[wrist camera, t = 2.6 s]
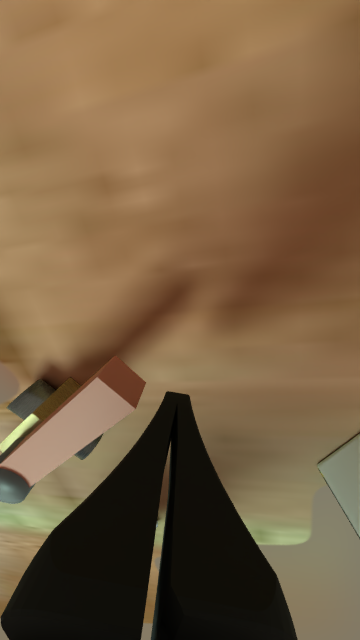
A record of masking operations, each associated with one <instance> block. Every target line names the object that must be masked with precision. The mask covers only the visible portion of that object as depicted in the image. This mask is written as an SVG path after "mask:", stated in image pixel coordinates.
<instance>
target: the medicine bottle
mask: <svg viewBox="0 0 360 640" xmlns="http://www.w3.org/2000/svg"><path fill="white" fill-rule="evenodd" d="M318 469H319V471H320V473H321V474H322V476H323V478H324V479H325V481H326V483H327V484H328V486H329V488H330V489H331V491H332V493H333V495H334V496H335V498H336V500H337V501H338V503H339V505H340V506H341V508H342V510H343V511H344V513H345V515H346V516H347V518H348V520H349V522H350V523H351V525H352V526H353V528H354V530H355V532H356V533H357V535H358V537H359V538H360V434H358V435H357V436H356V437H354V438H353V439H352V440H350V441H349V442H347V443H346V444H345V445H343V446H342V447H341V448H339V449H338V450H337V451H335V452H334V453H332V454H331V455H330V456H328V457H327V458H326V459H324V460H323V461H321V462H320V463H319V464H318Z"/></svg>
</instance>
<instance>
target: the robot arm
mask: <svg viewBox="0 0 360 640" xmlns="http://www.w3.org/2000/svg"><path fill="white" fill-rule="evenodd" d="M170 441H171V452H170V472H169V490H168V501H167V510H166V519H165V527H164V536H163V544H162V552H161V561H160V569H159V577H158V586H157V594H156V602H155V610H154V618H153V626H152V627H153V628H152V635H151V640H297V637H296V632H295V628H294V625H293V621H292V618H291V615H290V612H289V609H288V606H287V603H286V600H285V597H284V594H283V591H282V589H281V586H280V583H279V580H278V578H277V575H276V573H275V572H274V571H273V569H272V567H271V566H270V564H269V563H268V561H267V559H266V558H265V556H264V555H263V553H262V552H261V550H260V549H259V547H258V545H257V544H256V542H255V541H254V539H253V537H252V536H251V534H250V533H249V531H248V529H247V528H246V526H245V524H244V523H243V521H242V519H241V518H240V516H239V514H238V512H237V511H236V509H235V507H234V505H233V503H232V501H231V500H230V498H229V496H228V494H227V492H226V491H225V489H224V487H223V485H222V483H221V481H220V479H219V477H218V475H217V473H216V471H215V469H214V467H213V464H212V462H211V460H210V458H209V456H208V453H207V451H206V448H205V446H204V443H203V441H202V438H201V435H200V433H199V430H198V427H197V424H196V421H195V417H194V414H193V410H192V406H191V401H190V396H189V395H187V394H181V393H175V392H169V391H168V392H166V394H165V397H164V399H163V401H162V403H161V405H160V407H159V409H158V411H157V412H156V414H155V416H154V418H153V419H152V421H151V422H150V424H149V425H148V427H147V428H146V430H145V431H144V433H143V434H142V436H141V437H140V438H139V440H138V441H137V442H136V444H135V445H134V446H133V448H132V449H131V450H130V451H129V453H128V454H127V455H126V456H125V457H124V459H123V460H122V461H121V462H120V463H119V464H118V466H117V467H116V468H115V469H114V470H113V471H112V472H111V473H110V475H109V476H108V477H107V478H106V479H105V480H104V481H103V482H102V483H101V484H100V485H99V486H98V487H97V488H96V489H95V490H94V491H93V492H92V493H91V494H90V495H89V496H88V497H87V498H86V499H85V500H84V501H83V502H82V503H81V504H80V505H79V506H78V507H77V508H76V509H75V510H74V511H73V512H72V513H71V514H70V515H69V516H67V517H66V518H65V519H64V520H63V521H62V522H61V523H60V524H59V525H58V526H57V527H56V528H55V529H54V530H53V531H52V532H51V534H50V535H49V536H48V538H47V539H46V541H45V542H44V543H43V545H42V546H41V548H40V549H39V551H38V552H37V554H36V555H35V557H34V558H33V560H32V562H31V563H30V565H29V566H28V568H27V570H26V571H25V573H24V575H23V576H22V578H21V580H20V582H19V584H18V586H17V588H16V589H15V591H14V593H13V595H12V597H11V599H10V601H9V603H8V604H7V606H6V608H5V610H4V612H3V614H2V616H1V626H2V628H3V630H4V631H5V633H6V635H7V637H8V638H9V640H141V633H142V627H143V620H144V613H145V605H146V598H147V591H148V584H149V576H150V569H151V561H152V554H153V546H154V539H155V532H156V527H157V526H158V521H157V517H158V509H159V502H160V495H161V487H162V480H163V474H164V469H165V464H166V460H167V455H168V450H169V446H170Z"/></svg>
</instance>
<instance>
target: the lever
mask: <svg viewBox="0 0 360 640" xmlns="http://www.w3.org/2000/svg"><path fill="white" fill-rule="evenodd" d="M145 384H146V382H145V381H144V380H143V379H141V378H140V377H139V376H138V375H137V374H136V373H135V372H134V371H132V370H131V369H130V368H129V367H128V366H127V365H126V364H125V363H123V362H122V361H121V360H120V359H119V358H118V357H117V356H114V357H113V358H112V359H110V360H109V361H108V362H107V363H106V364H105V365H104V366H103V367H102V368H101V369H100V370H98V371H97V372H96V373H95V374H94V375H93V376H92V377H91V378H90V379H89V380H88V381H86V382H85V383H84V384H83V385H82V386H81V387H80V388H79V389H78V390H77V391H76V392H74V393H73V394H72V395H71V396H70V397H69V398H68V399H67V400H66V401H65V402H64V403H62V404H61V405H60V406H59V407H58V408H57V409H56V410H55V411H54V412H53V413H51V414H50V415H49V416H48V417H47V418H46V419H45V420H44V421H43V422H42V423H41V424H39V425H38V426H37V427H36V428H35V429H34V430H33V431H32V432H31V433H30V434H29V435H27V436H26V437H20V438H18V439H16V440H15V441H14V442H13V443H12V444H11V445H10V446H9V447H8V448H7V449H6V450H5V451H4V452H3V453H2V454H1V455H0V501H1V502H5V503H11V504H15V503H20V502H22V501H23V500H24V499H25V498H26V496H27V495H28V493H29V492H30V490H31V489H32V488H33V486H34V485H35V483H36V482H38V481H39V480H40V479H42V478H43V477H44V476H46V475H47V474H49V473H50V472H51V471H53V470H54V469H55V468H57V467H58V466H59V465H61V464H62V463H63V462H65V461H66V460H67V459H69V458H70V457H72V456H73V455H74V454H76V453H77V452H78V451H80V450H81V449H82V448H84V447H85V446H86V445H88V444H89V443H90V442H92V441H93V440H95V439H96V438H97V437H99V436H100V435H101V434H103V433H104V432H105V431H107V430H108V429H109V428H111V427H112V426H113V425H115V424H116V423H118V422H119V421H120V420H122V419H123V418H124V417H126V416H127V415H128V414H130V413H131V412H132V411H134V410H135V409H136V407H137V404H138V402H139V399H140V397H141V394H142V392H143V389H144V386H145Z"/></svg>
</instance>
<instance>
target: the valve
mask: <svg viewBox="0 0 360 640" xmlns="http://www.w3.org/2000/svg"><path fill="white" fill-rule="evenodd" d="M80 387H81V386H80V385H79V384H78V383H77V382H75V381H74V380H73V379H72V378H69V379H67V380H66V381H65V382H64V383H63V384H62V385H61V386H60V387H59V388H58V389H57V390H55V389H54V388H52V387H51V386H50V385H48V384H47V383H46V382H44V381H43V380H42V379H39V380H38V381H36V382H35V383H34V384H32V385H31V386H30V387H29V388H27V389H26V390H25V391H24V392H23V393H21V394H20V395H19V396H18V397H17V398H16V399H15V400H14V401H13V402H11V403H10V404H9V406H8V407H7V409H9V410H10V411H12V412H13V413H15V414H16V415H18V416H19V417H20V418H22V419H23V420H24V421H23V422H22V423H21V424H20V425H19V426H18V427H17V428H16V429H15V430H14V431H13V432H12V433H11V434H10V435H9V436H8V437H7V438H6V439H5V440H4V441H3V442H2V443H1V444H0V450H1V451H2V452H4V451H5V450H6V449H7V448H8V447H9V446H10V445H11V444H12V443H13V442H14V441H15V440H16V439H18V438H20V437H26V436H27V435H29V434H30V433H31V432H32V431H33V430H34V429H35V428H36V427H37V426H38V425H39V424H41V423H42V422H43V421H44V420H45V419H46V418H47V417H48V416H49V415H50V414H51V413H53V412H54V411H55V410H56V409H57V408H58V407H59V406H60V405H61V404H62V403H64V402H65V401H66V400H67V399H68V398H69V397H70V396H71V395H72V394H73V393H74V392H76V391H77V390H78V389H79V388H80ZM102 435H103V434H101V435H100V436H99V437H97V438H96V439H95V440H93V441H92V442H90V443H89V444H88V445H86V446H85V447H84V448H82V449H81V450H80V451H78V452H77V453H76V454H74V455H75V456H76V457H78V458H79V459H81V460H83V459H85V458H86V457H87V456H88V455H89V454H90V453H91V452H92V450H93V449H94V448H95V447H96V445H97V444H98V442H99V441H100V439H101V437H102Z"/></svg>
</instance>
